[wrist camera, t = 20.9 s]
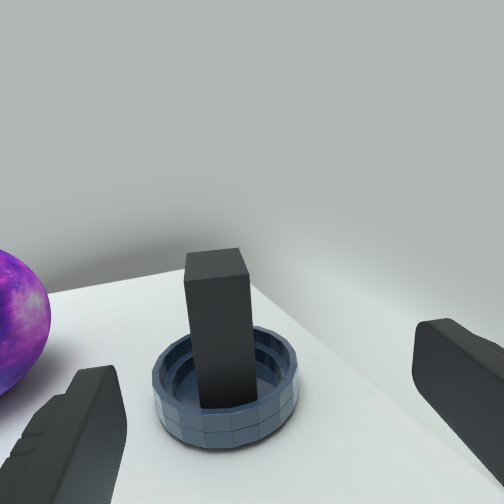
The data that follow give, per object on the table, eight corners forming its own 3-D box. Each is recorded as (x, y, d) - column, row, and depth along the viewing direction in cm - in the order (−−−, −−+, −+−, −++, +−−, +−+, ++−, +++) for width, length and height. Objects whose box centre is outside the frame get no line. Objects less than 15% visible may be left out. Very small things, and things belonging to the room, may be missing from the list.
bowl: (291, 350, 35) (290, 321, 34) (306, 451, 24) (305, 411, 23) (177, 355, 36) (172, 326, 35) (137, 456, 24) (129, 417, 23)
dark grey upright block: (247, 363, 33) (238, 247, 29) (258, 413, 27) (249, 273, 23) (201, 370, 32) (186, 252, 29) (202, 422, 26) (183, 280, 23)
